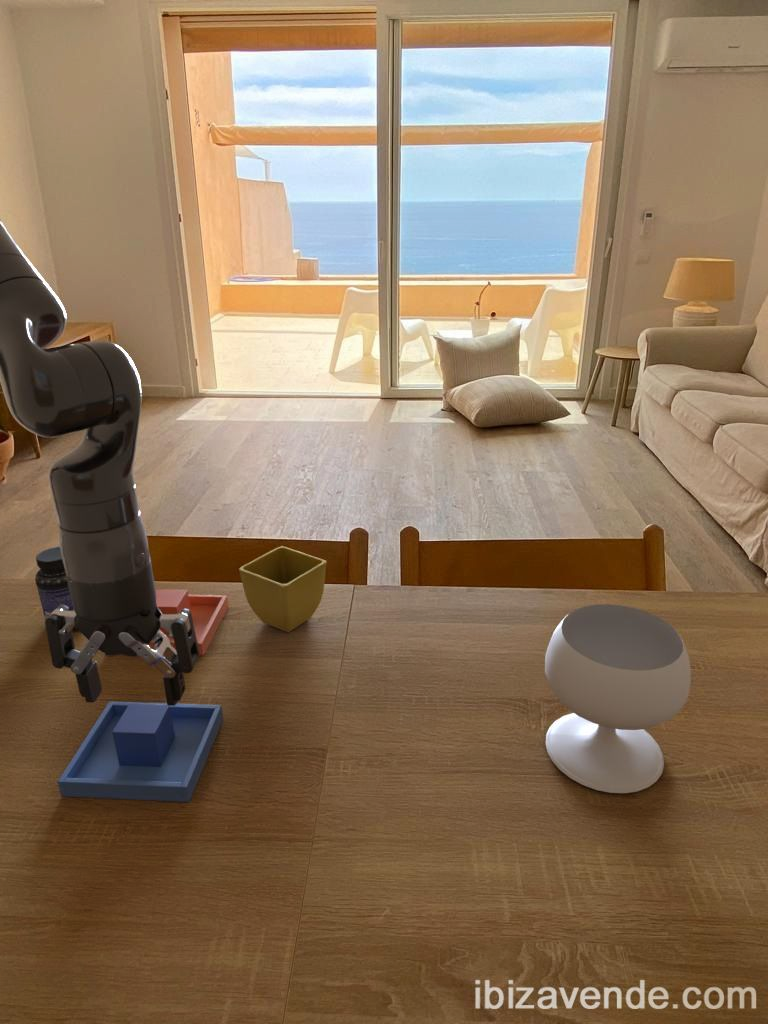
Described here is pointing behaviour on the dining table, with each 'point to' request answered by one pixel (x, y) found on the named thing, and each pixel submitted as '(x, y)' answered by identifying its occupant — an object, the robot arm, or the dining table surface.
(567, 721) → the chalice
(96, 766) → the slate-blue tray
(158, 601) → the terracotta block
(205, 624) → the terracotta tray
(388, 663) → the dining table surface
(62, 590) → the pill bottle
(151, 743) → the slate-blue block
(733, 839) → the dining table surface
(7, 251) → the robot arm
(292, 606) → the flower pot
